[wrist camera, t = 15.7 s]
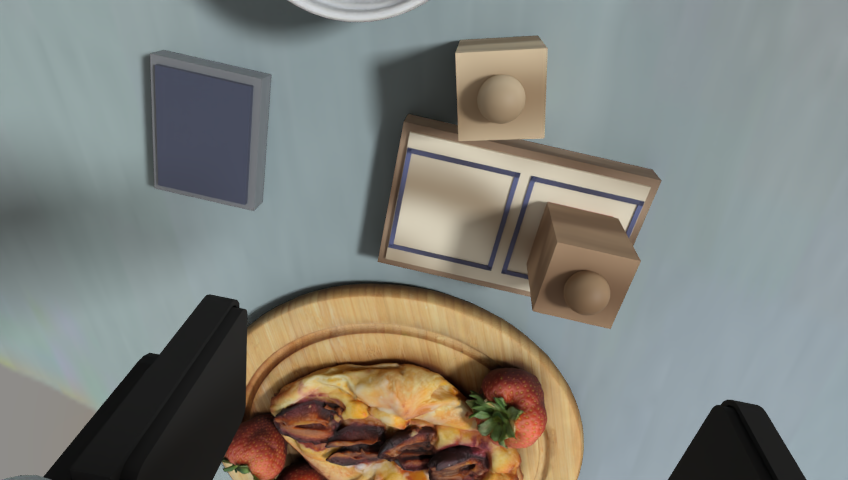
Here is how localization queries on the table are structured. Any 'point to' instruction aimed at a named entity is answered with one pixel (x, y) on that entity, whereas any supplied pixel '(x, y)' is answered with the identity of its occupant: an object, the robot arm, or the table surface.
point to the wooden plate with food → (400, 393)
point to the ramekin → (357, 8)
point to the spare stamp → (501, 88)
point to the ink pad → (209, 129)
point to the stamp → (580, 265)
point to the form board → (494, 201)
